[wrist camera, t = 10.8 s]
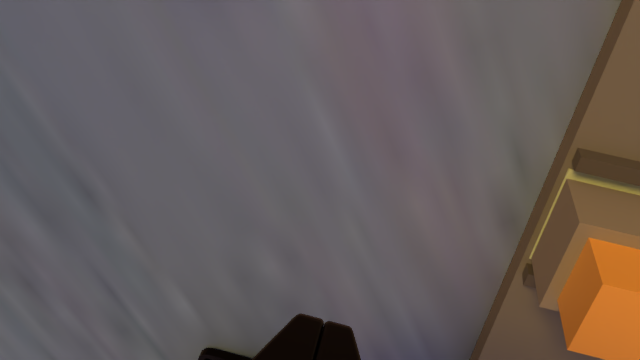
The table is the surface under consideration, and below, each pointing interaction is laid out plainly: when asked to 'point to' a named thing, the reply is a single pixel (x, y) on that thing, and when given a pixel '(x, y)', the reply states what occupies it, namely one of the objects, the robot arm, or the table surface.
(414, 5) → the table surface
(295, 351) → the robot arm
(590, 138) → the panel
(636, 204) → the toggle
